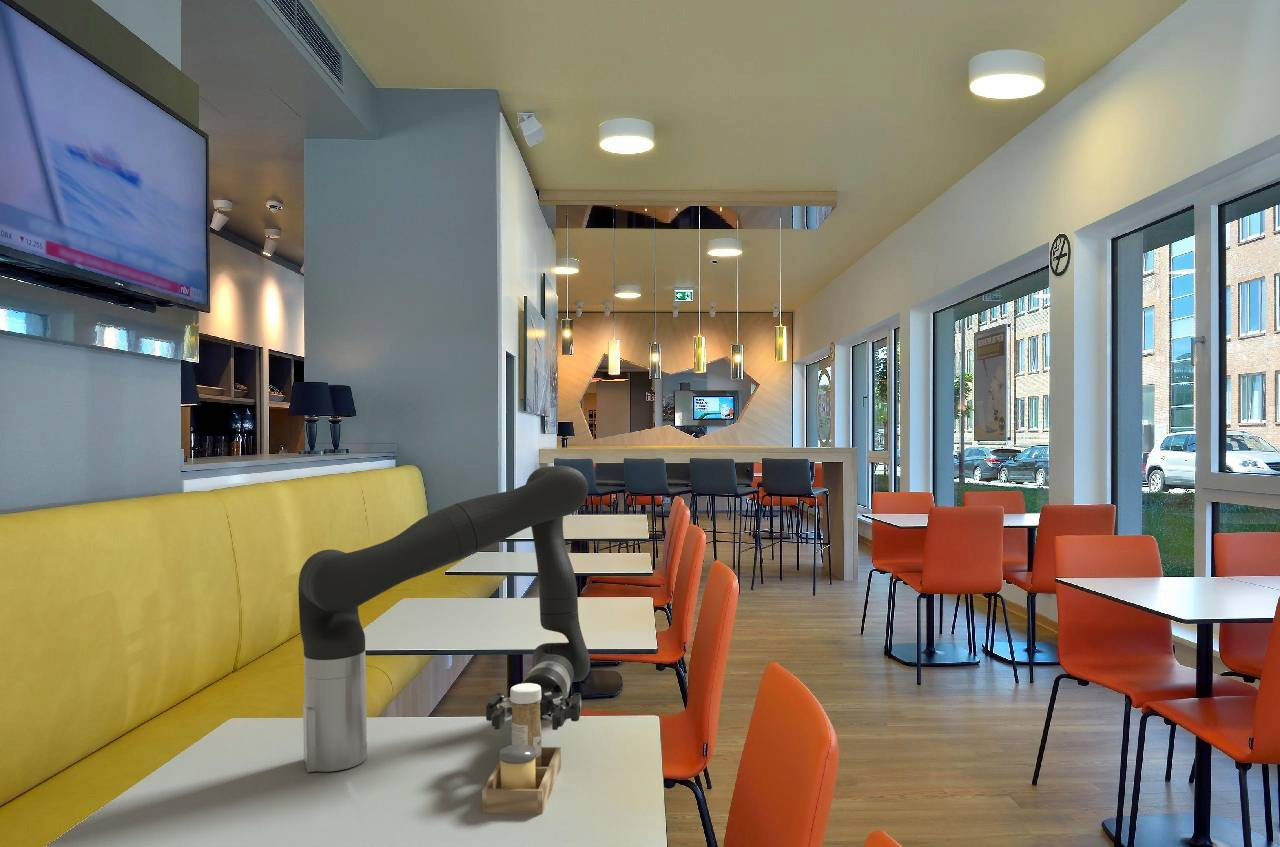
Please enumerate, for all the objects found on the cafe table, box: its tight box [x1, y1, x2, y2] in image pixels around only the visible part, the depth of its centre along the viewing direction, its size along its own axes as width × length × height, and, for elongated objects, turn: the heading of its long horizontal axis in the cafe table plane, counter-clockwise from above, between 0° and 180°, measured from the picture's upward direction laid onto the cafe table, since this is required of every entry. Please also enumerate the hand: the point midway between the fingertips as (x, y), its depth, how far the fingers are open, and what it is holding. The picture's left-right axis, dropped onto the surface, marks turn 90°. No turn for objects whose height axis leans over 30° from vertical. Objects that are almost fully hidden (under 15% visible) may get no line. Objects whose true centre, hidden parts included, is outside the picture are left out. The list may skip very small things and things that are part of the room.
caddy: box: [481, 746, 562, 815], centre depth 124 cm, size 16×8×4 cm, turn 176°
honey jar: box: [499, 744, 536, 789], centre depth 120 cm, size 5×5×7 cm
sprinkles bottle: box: [509, 683, 542, 767], centre depth 128 cm, size 5×5×14 cm
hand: (525, 723), depth 126 cm, fingers open, 8 cm apart
